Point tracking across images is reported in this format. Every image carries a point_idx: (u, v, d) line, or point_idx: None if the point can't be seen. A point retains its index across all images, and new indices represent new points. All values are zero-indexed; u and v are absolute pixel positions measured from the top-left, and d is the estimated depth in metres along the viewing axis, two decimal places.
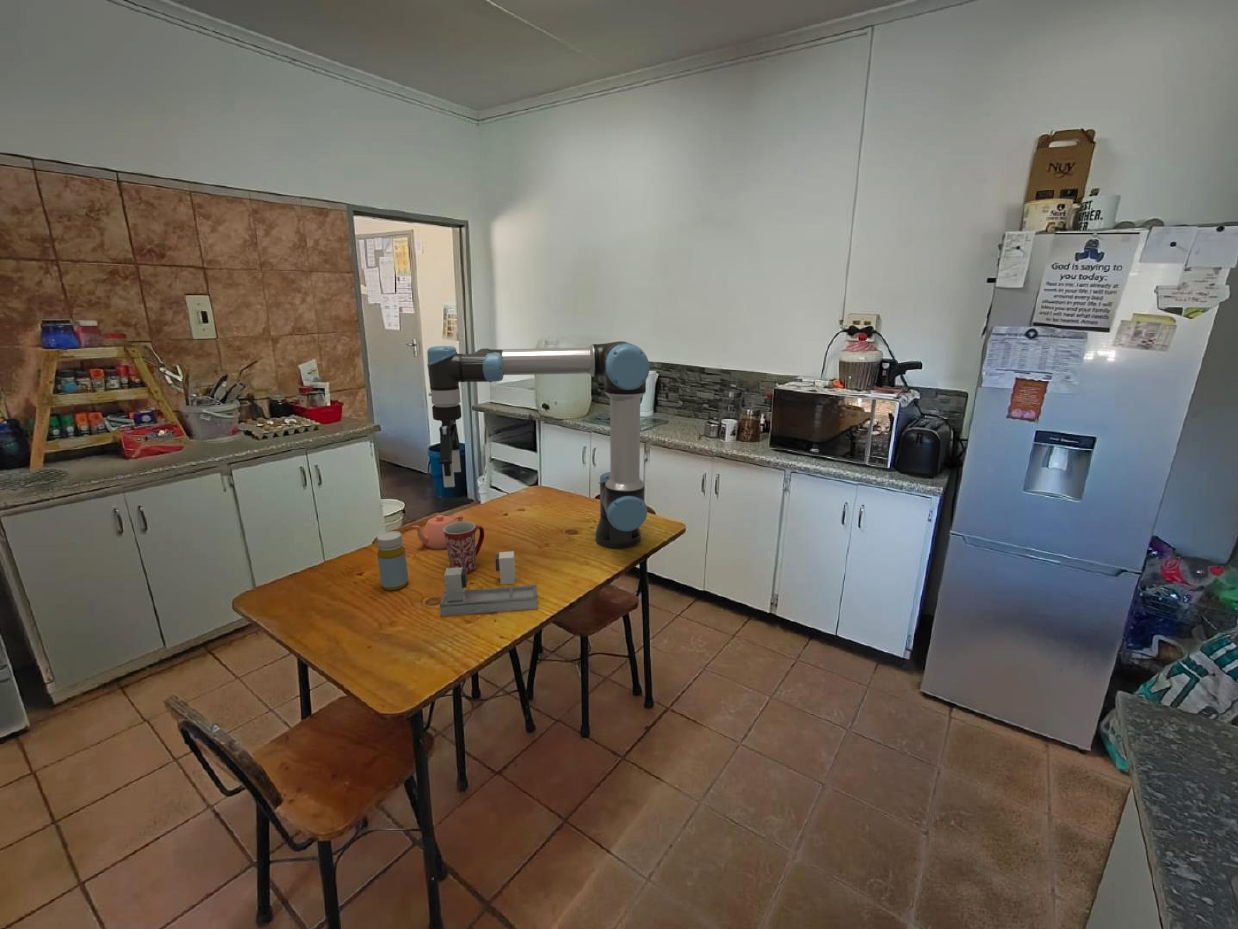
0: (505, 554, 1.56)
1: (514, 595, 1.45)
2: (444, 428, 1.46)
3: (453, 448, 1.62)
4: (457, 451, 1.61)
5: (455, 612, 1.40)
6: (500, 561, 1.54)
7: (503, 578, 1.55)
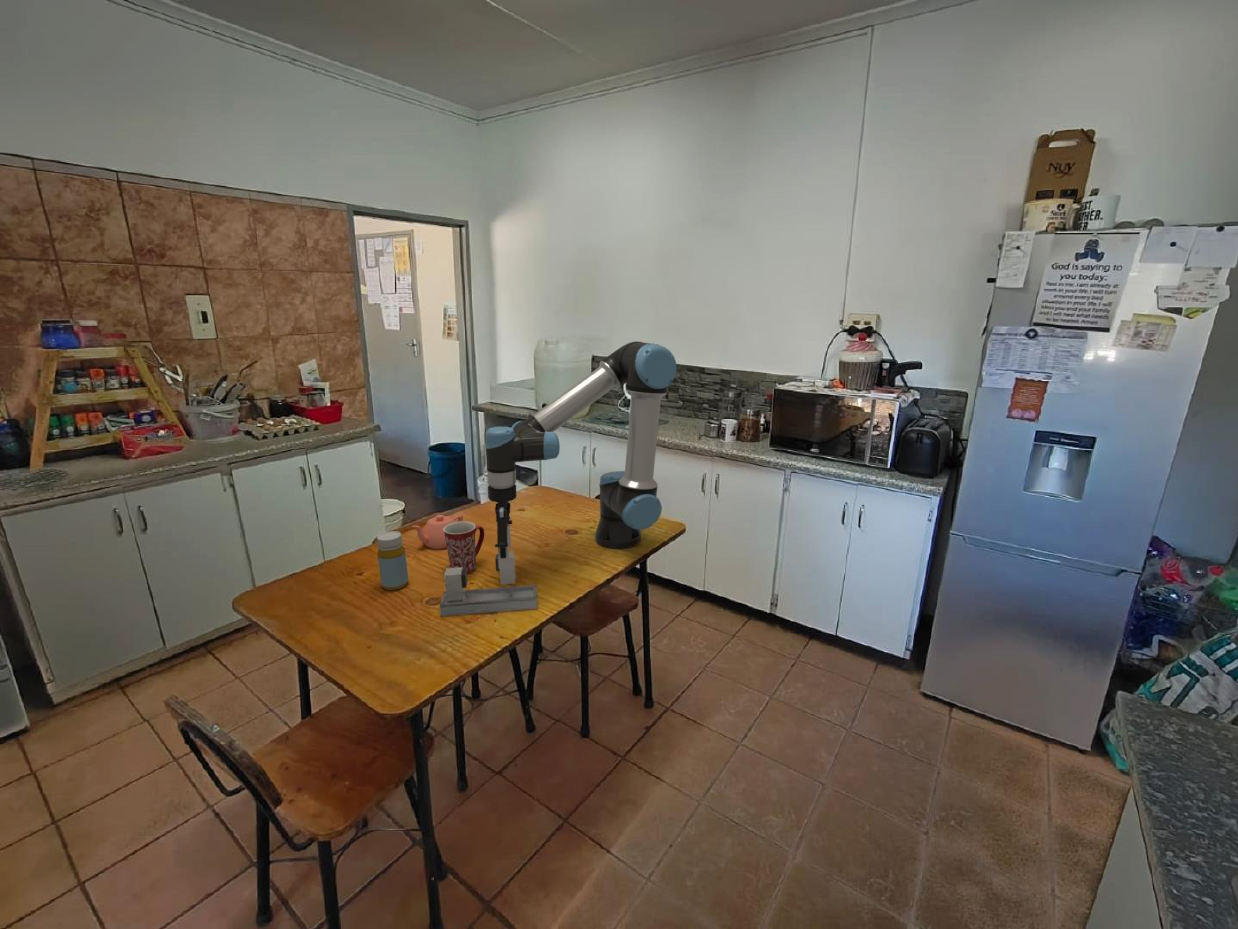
0: None
1: (514, 595, 1.45)
2: (501, 511, 1.45)
3: None
4: (508, 527, 1.60)
5: (455, 612, 1.40)
6: None
7: (503, 578, 1.55)
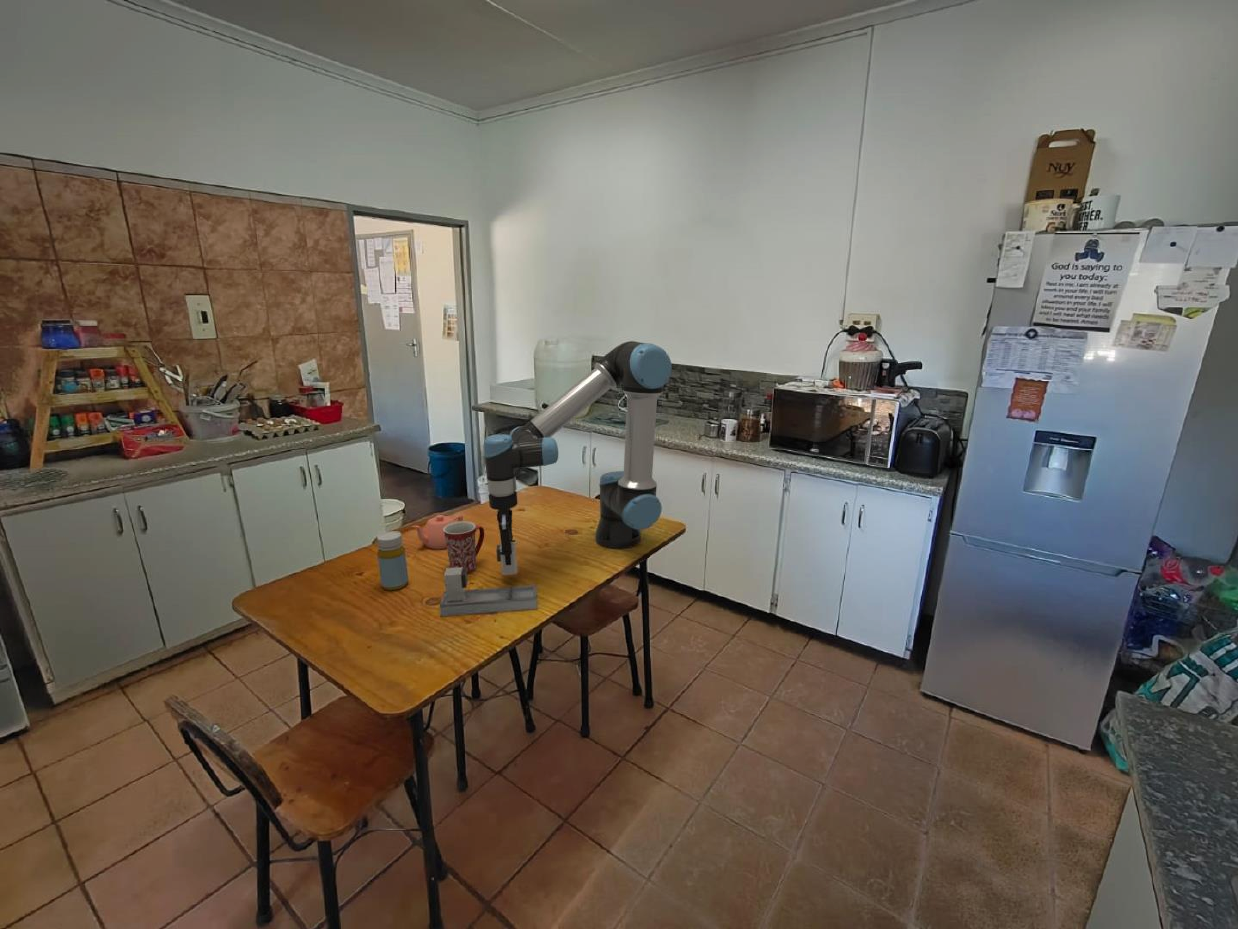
0: None
1: (514, 595, 1.45)
2: (503, 525, 1.46)
3: None
4: None
5: (455, 612, 1.40)
6: None
7: None
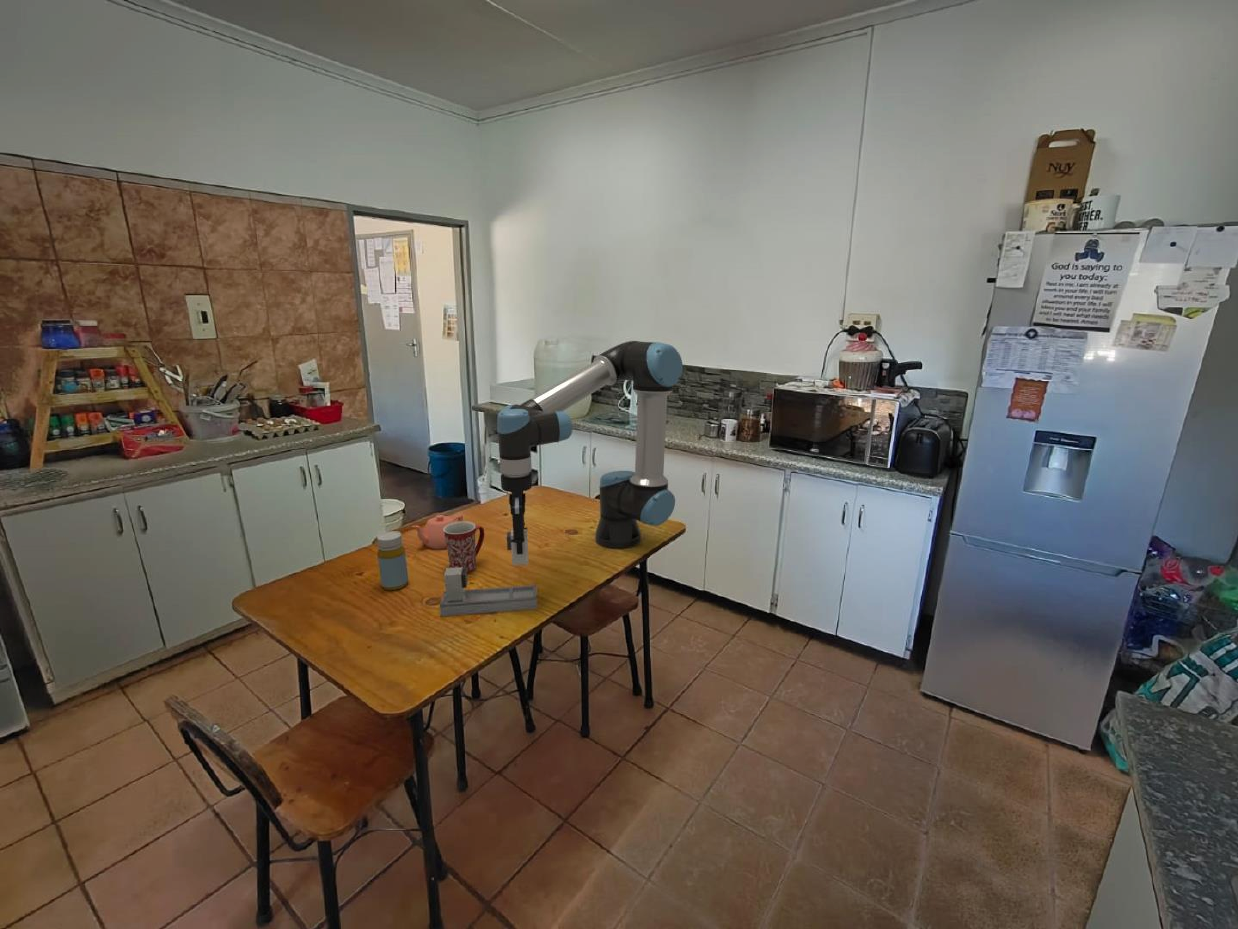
0: None
1: (514, 595, 1.45)
2: (517, 509, 1.32)
3: None
4: None
5: (455, 612, 1.40)
6: None
7: None
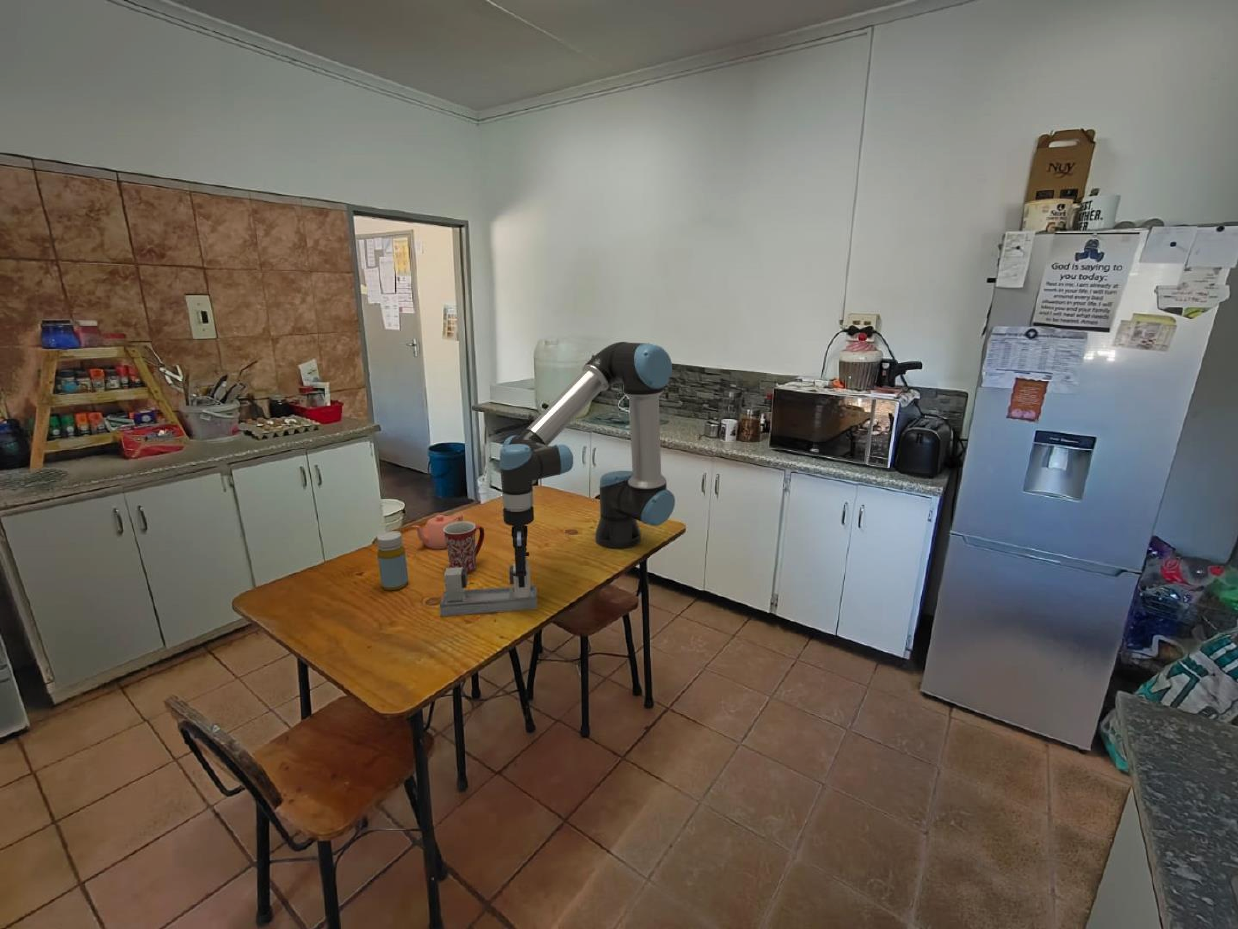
0: None
1: (514, 595, 1.45)
2: (519, 540, 1.34)
3: None
4: (525, 559, 1.47)
5: (455, 612, 1.40)
6: None
7: None
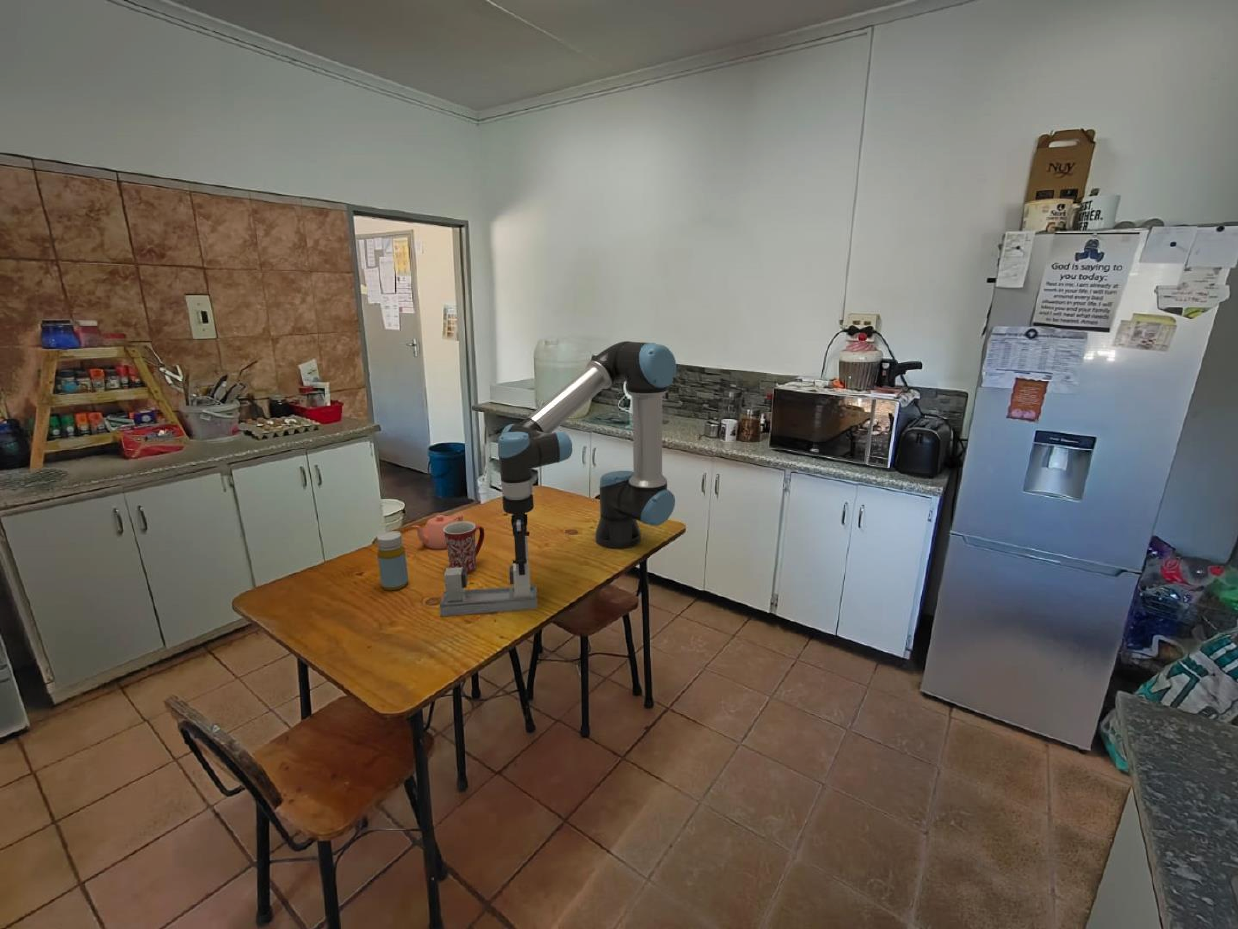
0: None
1: (514, 595, 1.45)
2: (518, 524, 1.33)
3: None
4: (525, 539, 1.48)
5: (455, 612, 1.40)
6: (514, 574, 1.41)
7: (518, 592, 1.43)
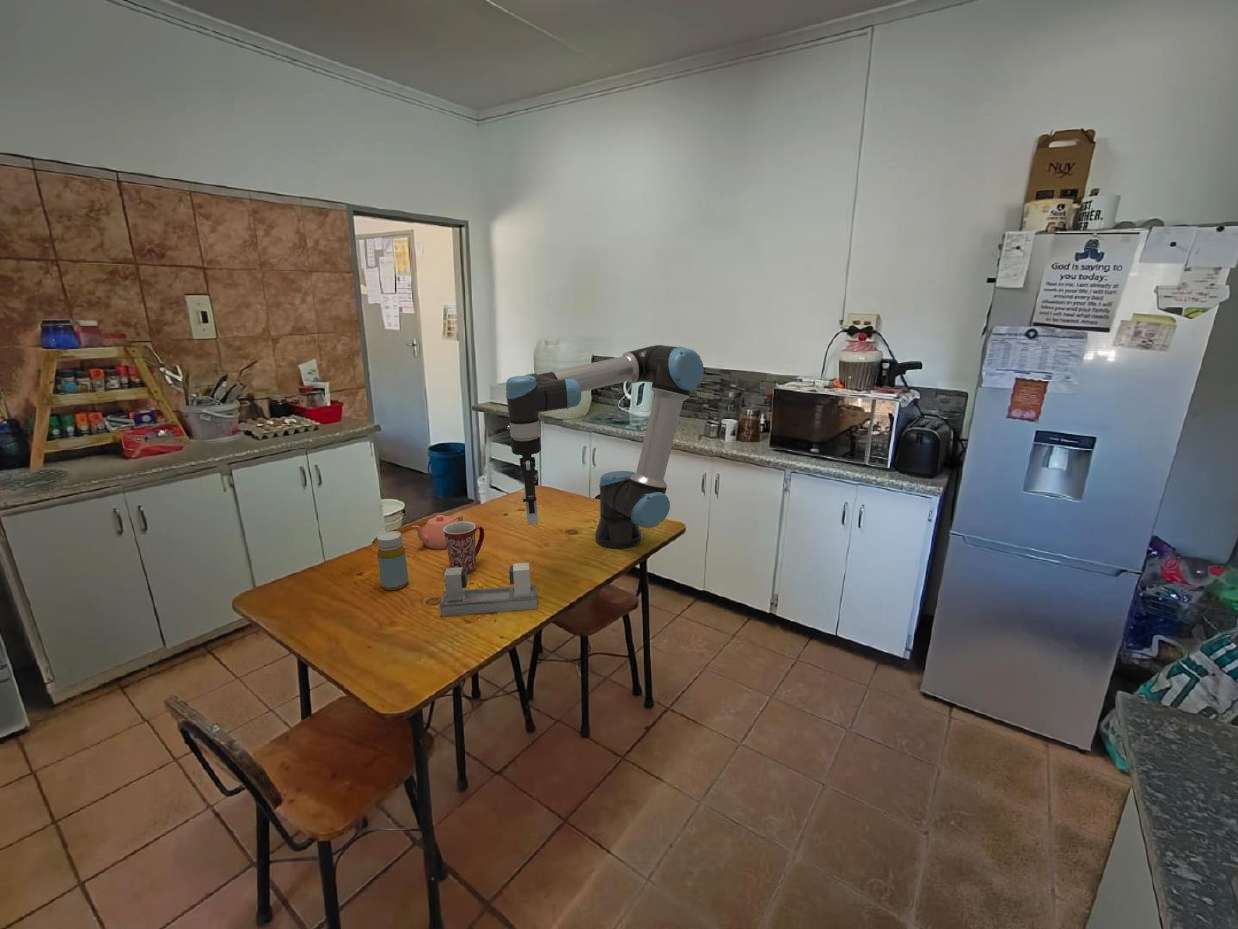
0: (520, 566, 1.43)
1: (514, 595, 1.45)
2: (528, 464, 1.38)
3: None
4: None
5: (455, 612, 1.40)
6: (514, 574, 1.41)
7: (518, 592, 1.43)
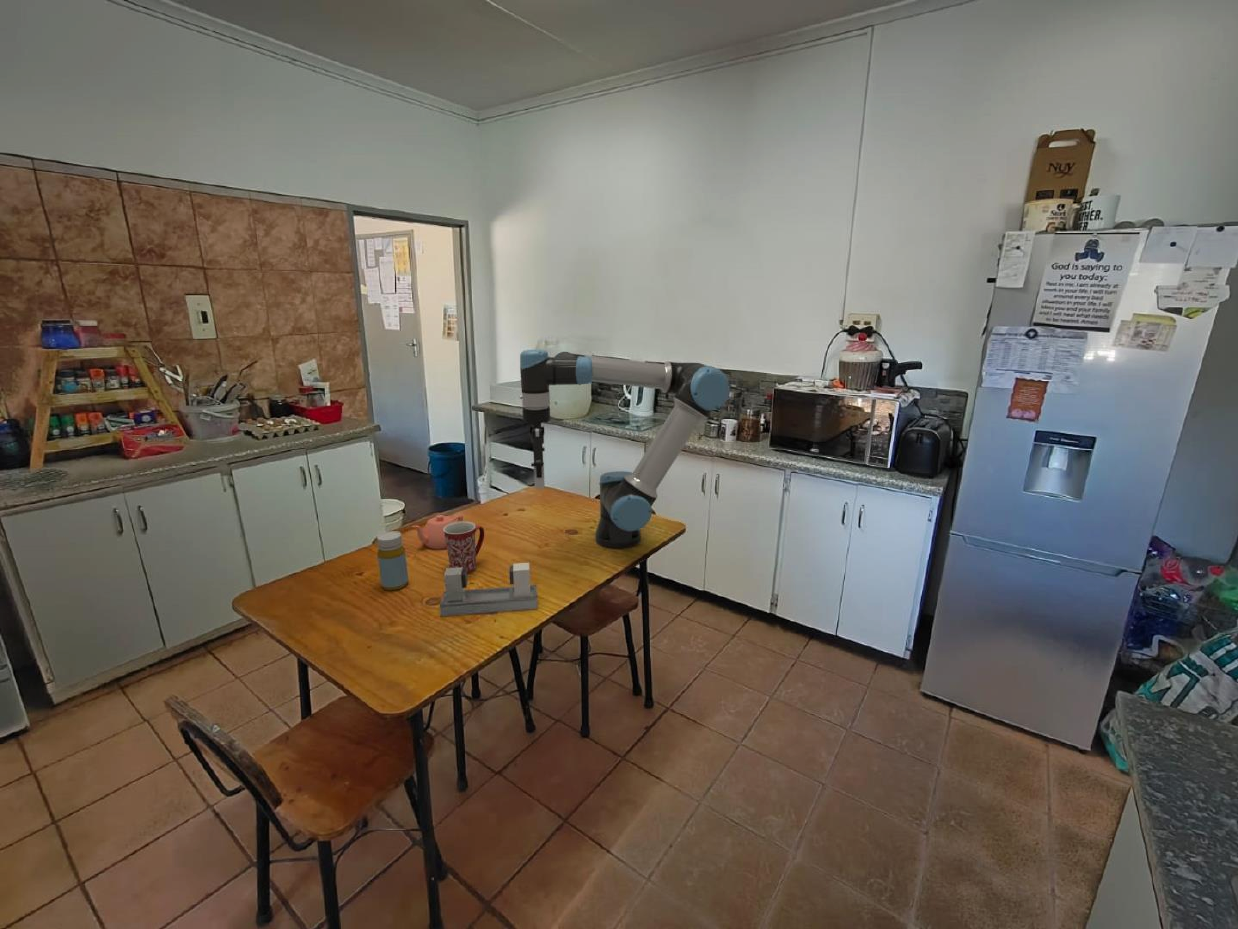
0: (520, 566, 1.43)
1: (514, 595, 1.45)
2: (537, 431, 1.48)
3: None
4: None
5: (455, 612, 1.40)
6: (514, 574, 1.41)
7: (518, 592, 1.43)
